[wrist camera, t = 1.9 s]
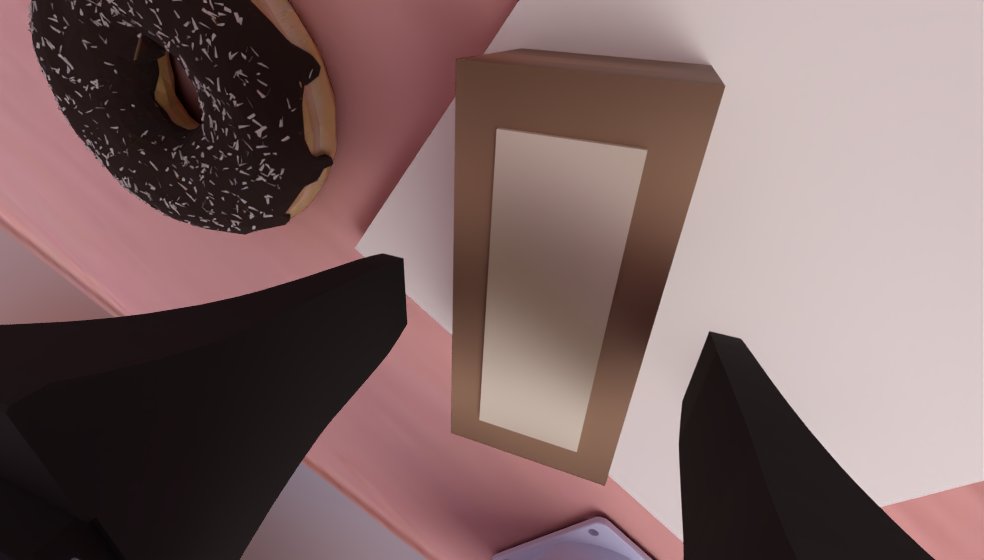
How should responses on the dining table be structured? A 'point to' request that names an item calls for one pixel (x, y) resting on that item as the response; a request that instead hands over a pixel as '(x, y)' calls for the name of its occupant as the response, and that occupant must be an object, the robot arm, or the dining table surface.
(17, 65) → the dining table surface
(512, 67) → the brown rectangular box
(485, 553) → the dining table surface
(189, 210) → the donut
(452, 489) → the dining table surface
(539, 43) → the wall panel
